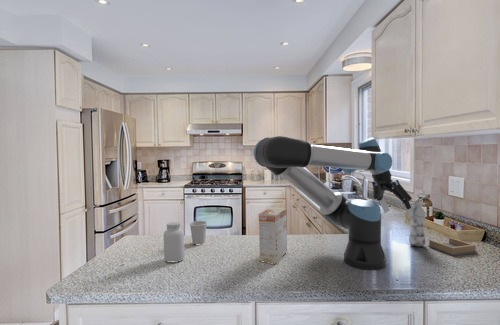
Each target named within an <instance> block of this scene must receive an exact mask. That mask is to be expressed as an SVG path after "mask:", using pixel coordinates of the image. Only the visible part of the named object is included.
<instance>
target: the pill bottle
mask: <svg viewBox="0 0 500 325" xmlns="http://www.w3.org/2000/svg"><path fill="white" fill-rule="evenodd" d="M184 237H185V234H184V230H183V229H181V222H178V221H175V222H174V221H172V222H168V223H167V224H166V230H165V231H164V232H163V254H164V261H165V260H166V261H179V260H181V259H183V258H184V259H185V238H184ZM184 259H183V260H184ZM166 261H165V262H166Z"/></svg>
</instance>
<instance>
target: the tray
mask: <svg viewBox="0 0 500 325" xmlns="http://www.w3.org/2000/svg"><path fill="white" fill-rule="evenodd" d="M428 242H429V243H428V247H429V248H432V249H435V250H436V251H440V252H442V253H445V254H448V255H451V256H454V257H457V256H464V255H470V254H471V253H472V254H477V253H478V251H476V249H477V246H476V244H472V243H470V242H467V241H463V240H460V239H457V238H453V237H448V242H445V243H441V242H438V241H436V240H433V239H429V241H428Z"/></svg>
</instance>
